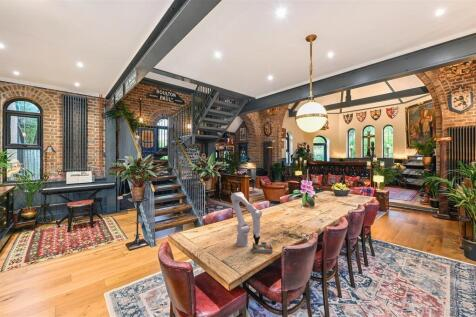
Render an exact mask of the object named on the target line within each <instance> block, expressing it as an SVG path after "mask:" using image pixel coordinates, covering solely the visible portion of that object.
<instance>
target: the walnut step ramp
mask: <svg viewBox="0 0 476 317" xmlns="http://www.w3.org/2000/svg"><path fill="white" fill-rule="evenodd" d="M258 245H259V244H258ZM258 245H255V242H252V253H255V252H254V249H260V246H258Z"/></svg>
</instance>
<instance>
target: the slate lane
mask: <svg viewBox="0 0 476 317" xmlns="http://www.w3.org/2000/svg"><path fill="white" fill-rule="evenodd" d="M272 244H273V243H272V242H269V245H270V247H271V249H266V245H261V244H258V246H260V249H254V252H253V253H263V254H264V253H265V254H273V245H272Z"/></svg>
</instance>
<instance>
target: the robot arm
mask: <svg viewBox="0 0 476 317" xmlns="http://www.w3.org/2000/svg"><path fill="white" fill-rule="evenodd" d="M230 200H231V204H232V207H233V210H234V213H235V217H236V219H237V225H236V229H237V230H236V231H237V233H236V247H249V240H248V239H249V236H248V235H249V232H250V231H251V230H250V229H251V228H250V226H249V225H248V222H246V221H245V218H244V216H243V212H242V209H241V207H240V202H241V203H242V204H243V205H245V207H246V210H247V211H248V212H249V213H250V215H251V219H252V233H253V235H252V236H253V240H254V243H255V245H259V243H260V240H261V236H260V233H262V230H261V217H262V211H261V210H260V209H257V208H256V207H255V206H254V204H252V203H250V202H249V201H248V200H247V198H246V197H245V194H244V193H243V192H241V191H239V192H232V193H231V194H230Z"/></svg>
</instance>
